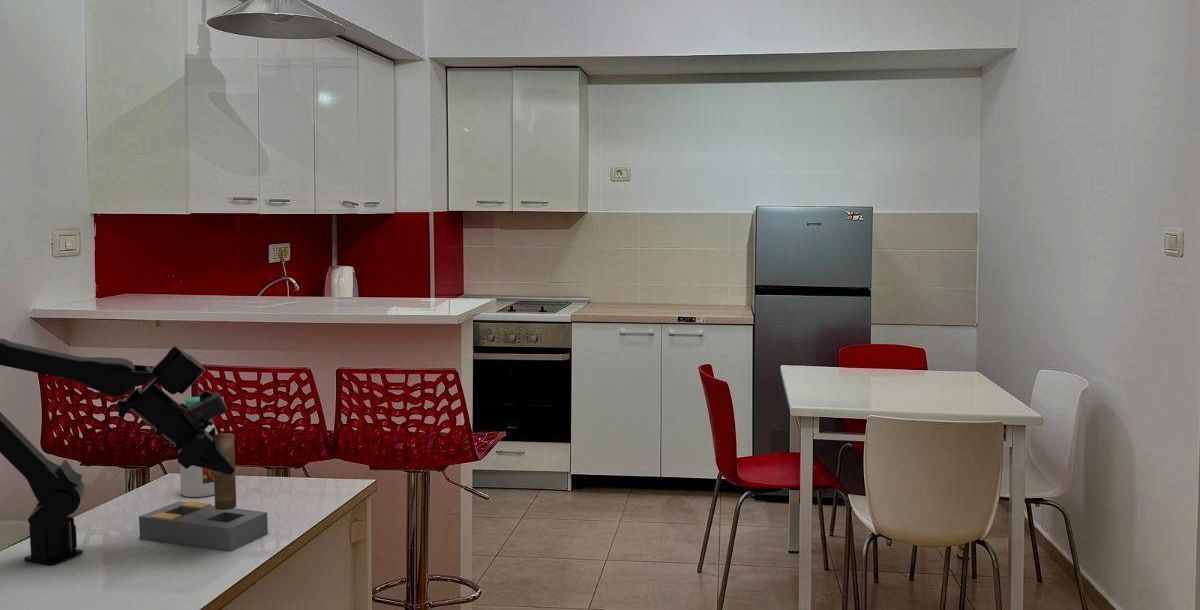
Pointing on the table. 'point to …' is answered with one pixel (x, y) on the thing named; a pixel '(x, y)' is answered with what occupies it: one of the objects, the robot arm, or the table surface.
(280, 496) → the table surface
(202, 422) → the robot arm
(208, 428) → the milk bottle
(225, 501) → the walnut peg
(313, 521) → the table surface
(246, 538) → the grey peg socket base
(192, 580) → the table surface
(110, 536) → the table surface
